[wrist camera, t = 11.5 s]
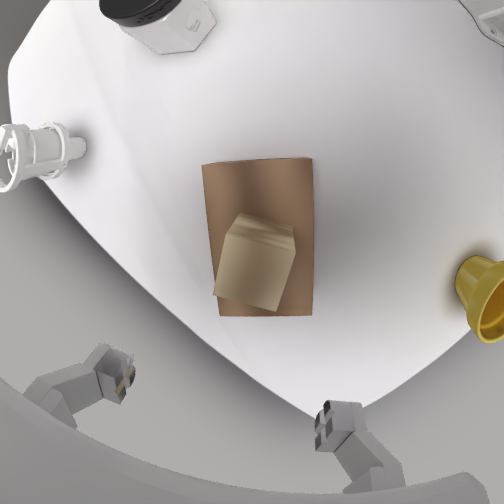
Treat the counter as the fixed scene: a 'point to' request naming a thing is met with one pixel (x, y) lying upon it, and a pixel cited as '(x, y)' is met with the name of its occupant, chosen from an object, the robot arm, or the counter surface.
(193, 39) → the jar
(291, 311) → the walnut block
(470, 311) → the plant pot
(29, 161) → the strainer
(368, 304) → the counter surface
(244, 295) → the oak block
